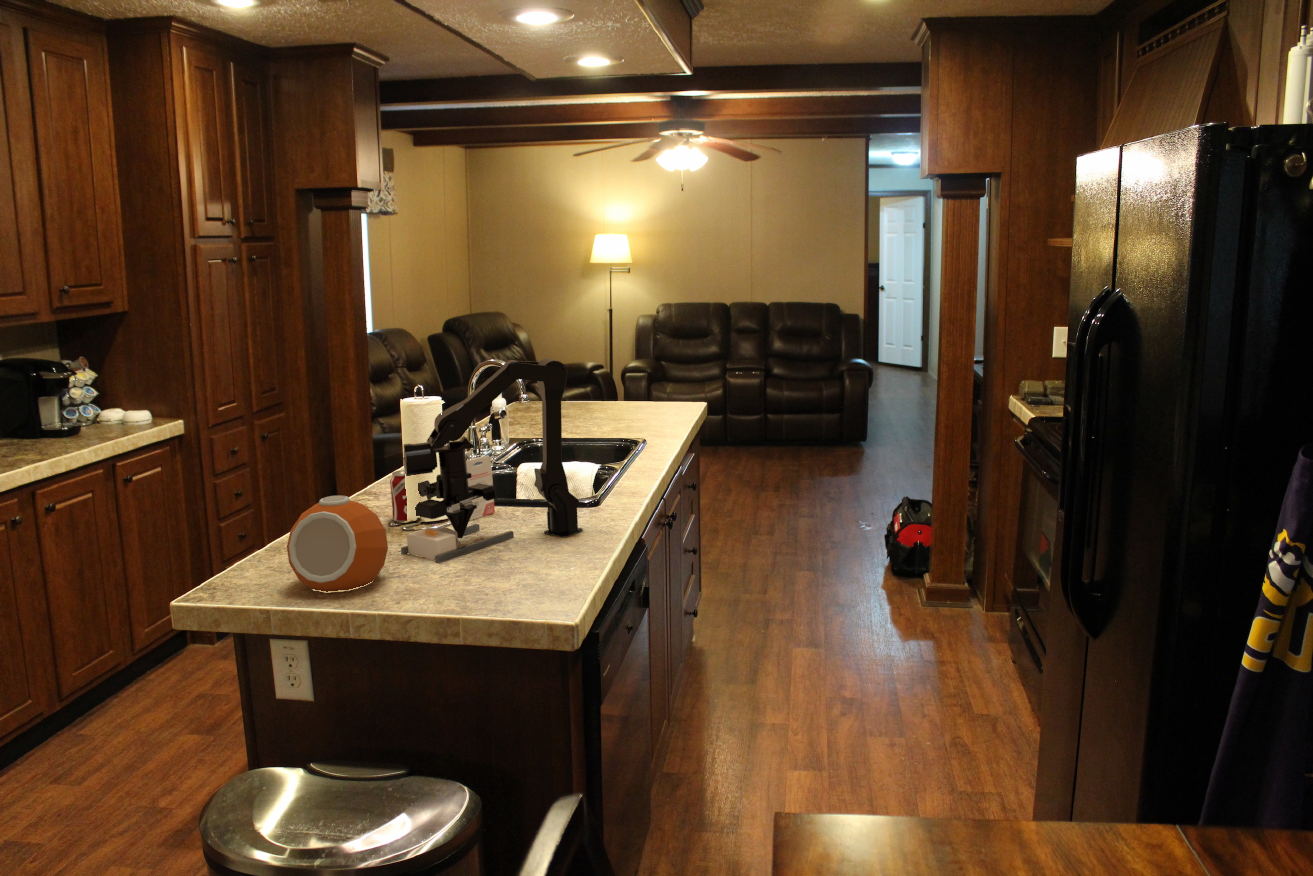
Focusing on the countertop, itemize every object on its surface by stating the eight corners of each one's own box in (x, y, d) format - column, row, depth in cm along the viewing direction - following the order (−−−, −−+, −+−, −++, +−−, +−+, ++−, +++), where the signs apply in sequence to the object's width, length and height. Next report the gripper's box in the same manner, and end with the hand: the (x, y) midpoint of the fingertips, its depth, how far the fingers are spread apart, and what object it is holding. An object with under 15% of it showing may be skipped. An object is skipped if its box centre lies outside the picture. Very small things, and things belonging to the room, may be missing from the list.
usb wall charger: (448, 543, 229) (447, 526, 228) (464, 550, 224) (462, 532, 223) (432, 547, 226) (431, 530, 226) (447, 554, 221) (446, 536, 220)
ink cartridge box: (481, 510, 257) (477, 452, 254) (495, 513, 254) (491, 454, 251) (455, 518, 250) (451, 459, 248) (469, 521, 247) (465, 461, 245)
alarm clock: (274, 597, 197) (264, 509, 194) (316, 568, 214) (308, 487, 211) (369, 599, 194) (361, 510, 191) (404, 570, 211) (397, 488, 208)
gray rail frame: (513, 537, 232) (513, 531, 232) (438, 563, 215) (438, 556, 215) (476, 530, 239) (476, 523, 239) (401, 554, 222) (400, 547, 222)
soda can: (410, 515, 254) (406, 468, 252) (427, 519, 250) (424, 471, 248) (387, 521, 249) (383, 473, 247) (404, 525, 245) (400, 476, 243)
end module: (456, 555, 220) (454, 530, 219) (438, 561, 216) (436, 536, 215) (426, 548, 226) (424, 524, 225) (408, 554, 222) (406, 529, 221)
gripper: (460, 456, 236) (467, 521, 239) (395, 475, 222) (403, 544, 225) (494, 461, 229) (500, 528, 233) (429, 481, 215) (436, 552, 218)
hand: (460, 538), depth 227 cm, fingers closed
